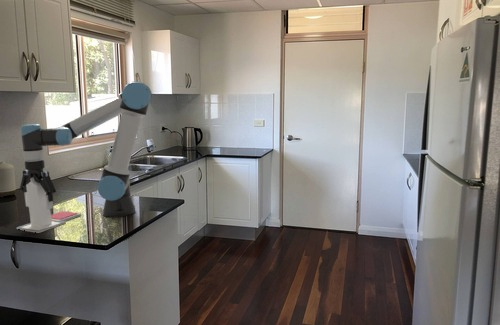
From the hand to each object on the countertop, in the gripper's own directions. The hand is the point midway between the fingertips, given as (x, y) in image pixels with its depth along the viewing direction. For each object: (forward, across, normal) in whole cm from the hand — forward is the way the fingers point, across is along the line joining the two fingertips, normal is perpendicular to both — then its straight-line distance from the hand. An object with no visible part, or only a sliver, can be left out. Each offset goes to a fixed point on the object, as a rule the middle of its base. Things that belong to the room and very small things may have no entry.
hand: (39, 207), depth 181 cm
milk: (+8, 0, 0) cm, 8 cm away
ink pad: (+9, +2, -12) cm, 15 cm away
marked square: (+9, 0, 0) cm, 9 cm away
